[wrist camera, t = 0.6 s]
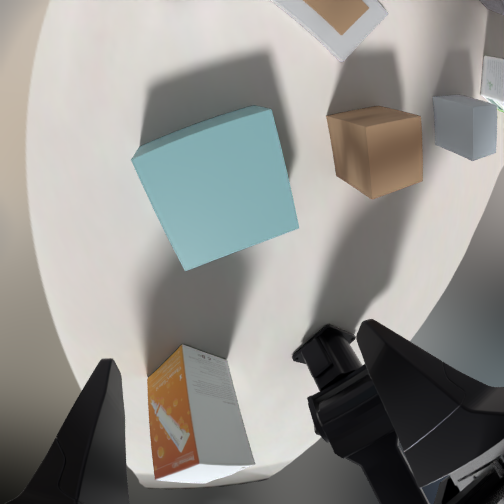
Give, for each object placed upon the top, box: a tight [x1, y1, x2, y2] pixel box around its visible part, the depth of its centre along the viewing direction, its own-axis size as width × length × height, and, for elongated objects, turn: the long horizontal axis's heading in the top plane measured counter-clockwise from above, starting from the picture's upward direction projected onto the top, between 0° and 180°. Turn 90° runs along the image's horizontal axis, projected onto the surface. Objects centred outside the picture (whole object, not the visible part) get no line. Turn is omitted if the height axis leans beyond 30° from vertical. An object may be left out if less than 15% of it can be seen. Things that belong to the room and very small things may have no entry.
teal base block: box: [131, 105, 299, 271], centre depth 18 cm, size 8×8×4 cm
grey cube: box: [433, 95, 497, 161], centre depth 19 cm, size 5×5×5 cm
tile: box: [270, 0, 388, 62], centre depth 13 cm, size 7×7×1 cm
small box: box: [147, 344, 255, 483], centre depth 24 cm, size 8×6×13 cm
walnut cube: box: [326, 106, 423, 199], centre depth 18 cm, size 5×5×5 cm
